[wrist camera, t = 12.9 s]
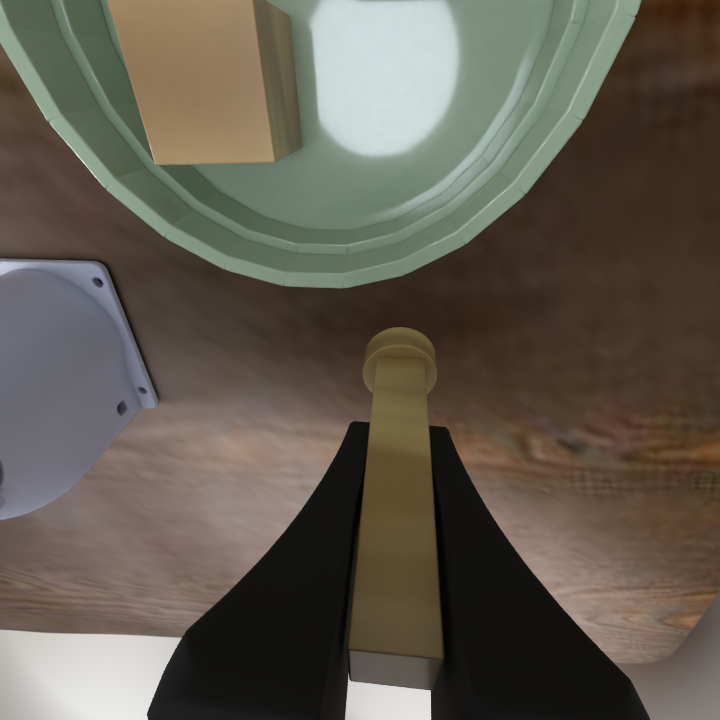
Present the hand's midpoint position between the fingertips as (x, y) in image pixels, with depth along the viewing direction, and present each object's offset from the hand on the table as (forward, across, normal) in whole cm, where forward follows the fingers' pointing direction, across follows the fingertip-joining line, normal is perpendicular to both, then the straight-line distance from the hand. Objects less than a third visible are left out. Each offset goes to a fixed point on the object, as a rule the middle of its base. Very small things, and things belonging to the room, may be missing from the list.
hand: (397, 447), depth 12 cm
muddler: (+4, 0, -1) cm, 4 cm away
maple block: (+9, +6, -9) cm, 14 cm away
